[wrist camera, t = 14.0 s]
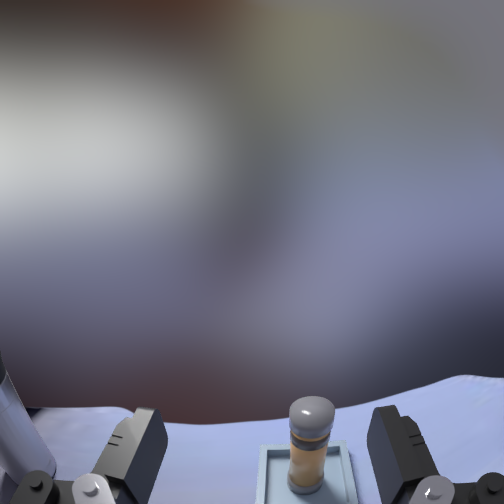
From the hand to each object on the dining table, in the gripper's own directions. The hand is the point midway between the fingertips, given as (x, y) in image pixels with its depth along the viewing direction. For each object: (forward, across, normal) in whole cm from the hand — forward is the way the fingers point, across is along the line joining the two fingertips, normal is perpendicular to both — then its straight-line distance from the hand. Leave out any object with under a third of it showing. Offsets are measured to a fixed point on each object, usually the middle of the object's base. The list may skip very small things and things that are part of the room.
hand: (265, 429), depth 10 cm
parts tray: (+15, -4, +29) cm, 33 cm away
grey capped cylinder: (+15, -4, +28) cm, 32 cm away
